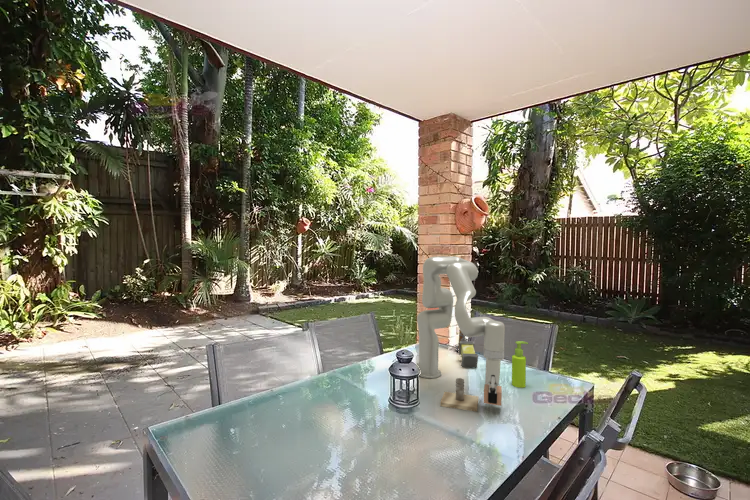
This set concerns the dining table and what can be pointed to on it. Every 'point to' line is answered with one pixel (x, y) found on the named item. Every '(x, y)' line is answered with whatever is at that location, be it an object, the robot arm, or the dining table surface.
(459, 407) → the board
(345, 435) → the dining table surface
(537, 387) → the dining table surface
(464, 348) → the grey and yellow block
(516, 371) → the soap dispenser
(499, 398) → the peach cube
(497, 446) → the dining table surface
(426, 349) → the robot arm
